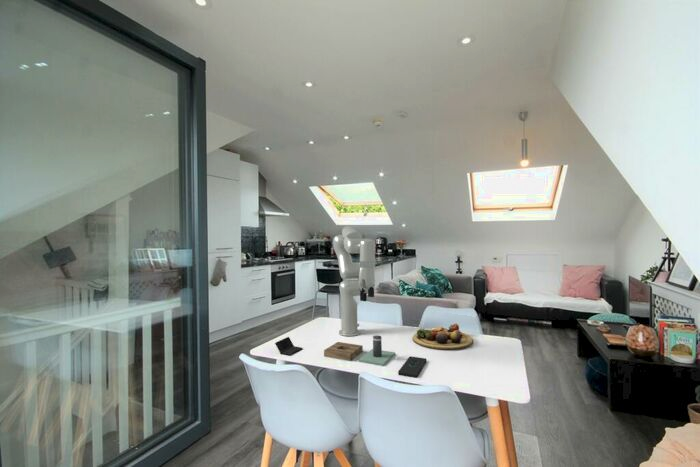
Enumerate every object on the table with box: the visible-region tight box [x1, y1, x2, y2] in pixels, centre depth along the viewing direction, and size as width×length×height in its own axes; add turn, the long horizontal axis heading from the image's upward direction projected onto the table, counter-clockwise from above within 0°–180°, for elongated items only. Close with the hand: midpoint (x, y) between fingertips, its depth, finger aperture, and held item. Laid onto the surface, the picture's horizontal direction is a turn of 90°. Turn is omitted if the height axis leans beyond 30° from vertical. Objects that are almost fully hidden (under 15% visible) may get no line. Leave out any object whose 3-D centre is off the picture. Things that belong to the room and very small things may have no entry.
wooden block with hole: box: [323, 341, 364, 362], centre depth 161 cm, size 14×14×3 cm
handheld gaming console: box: [274, 336, 303, 357], centre depth 167 cm, size 12×7×10 cm
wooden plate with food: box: [412, 323, 474, 352], centre depth 181 cm, size 32×32×8 cm
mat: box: [358, 348, 396, 367], centre depth 156 cm, size 16×12×1 cm
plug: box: [372, 335, 383, 357], centre depth 156 cm, size 4×4×9 cm
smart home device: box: [397, 355, 427, 379], centre depth 144 cm, size 8×2×20 cm
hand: (367, 298), depth 164 cm, fingers open, 9 cm apart
